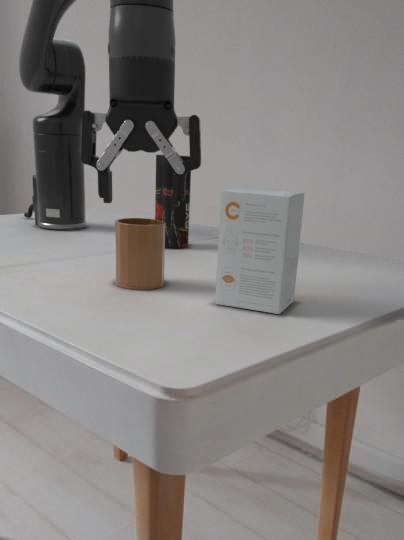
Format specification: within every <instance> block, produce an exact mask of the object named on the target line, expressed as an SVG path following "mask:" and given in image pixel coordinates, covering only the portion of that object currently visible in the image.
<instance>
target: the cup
mask: <svg viewBox="0 0 404 540" xmlns="http://www.w3.org/2000/svg"><path fill="white" fill-rule="evenodd" d="M114 241H115V242H114V248H115V250H114V251H115V252H114V253H115V257H114V259H115V260H114V261H115V262H114V263H115V285H116V286H118V287H120V288H124V289H128V290H136V291H137V290H139V291H140V290H143V291H144V290H155V289H159V288H162V287H163V286H164V284H165V283H164V282H165V259H166V257H165V256H166V255H165V254H166V253H165V251H166V248H165V222H164V221H161V220H157V219H155V218H146V217H124V218H123V217H122V218H118V219H115V220H114Z"/></svg>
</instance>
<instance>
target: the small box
mask: <svg viewBox="0 0 404 540" xmlns="http://www.w3.org/2000/svg"><path fill="white" fill-rule="evenodd" d="M219 199H220V201H219V202H220V203H219V222H218V242H217V259H216V276H215V277H216V278H215V297H214V301H215V302H214V303H215V305H220V306H227V307H234V308H239V309H246V310H251V311H258V312H264V313H270V314H275V315H280V314H281V313H282V312H283V311H285V310H286V309H287V308H288V307H290V305H291V304H293V302H295V293H296V285H297V282H296V281H297V274H298V266H299V254H300V243H301V235H302V224H303V223H302V222H303V213H304V203H305V202H304V201H305V192H304V191H292V190H291V191H288V190H276V189H263V188H252V187H235V188H233V187H232V188H228V189H222V190H220V198H219Z"/></svg>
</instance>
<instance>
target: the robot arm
mask: <svg viewBox="0 0 404 540" xmlns="http://www.w3.org/2000/svg"><path fill="white" fill-rule="evenodd" d="M109 1H110V2H109V6H110V9H109V10H110V11H109V25H108V42H107V55H108V77H109V78H108V80H109V81H108V82H109V83H108V85H109V86H108V89H109V91H108V92H109V93H108V94H109V106H108V109H107V112H106V113H102V112H95V111H93V110H88V109H87V110H86V79H87V78H86V74H87V73H86V72H87V71H86V61H85V54H84V51H83V50H82V48H81V45H79V43H77V42H76V41H74V40H70V39H64V38H56V37H55V35H56V32H57V29H58V26H59V24H60V23H61V20H62V19H63V17H64V16H65V14H66V13H67V12H68V10H69V9H70V8H71V7H72V6H73V4H75V3H76V2H77V0H32V2H31V5H30V10H29V13H28V17H27V21H26V25H25V29H24V32H23V37H22V41H21V45H20V50H19V51H20V52H19V59H18V72H19V73H18V74H19V78H20V81H21V84H22V86H23V88H25V89H26V90H27V91H28V92H30V93H31V92H32V93H36V94H41V95H42V94H43V95H51V96H52V95H54V96H58V99H57V103H56V105H55V106H54V108H52V109H50V110H49V111H46V112H44V113H42V114H38V115H36V116H34V117H33V119H32V133H33V134H32V135H33V136H32V137H33V150H34V152H33V153H34V167H35V168H34V169H35V174H33V175H32V192H33V193H32V194H33V195H31V196H32V203H31V204H30V205H29V206H28V209H27V212H24V213H23V216H24V217H25V218H27V219H30V218H32V216H33V214H34V225H35V226H38V227H39V228H42V229H47V230H58V231H59V230H62V231H63V230H81V229H84V228H86V227H87V220H86V218H87V217H86V185H85V183H86V181H85V165H87V166H90V167H92V168H94V169H95V171H96V172H97V192H98V193H97V194H98V197H99V198H100V199H102V200H103V204H111V203H112V202H113V171H112V170H111V166H112V165H113V163H114V162H115V161H116V159H117V158H118V157H119V156H120V154H121V153H122V152H123V150H125V151H127V152H128V153H129V152H130V153H136V152H140V151H142V152H145V153H150V154H151V153H153V154H154V153H157V152H159V151H160V152H161V153H162V155H164V156H165V158H166V159H167V160H168V161H169V163H170V164H171V166H172V167H173V169H174V170H175V174H174V175H173V206H179V205H180V202H183V201H184V198H185V188H186V174H187V173H188V172H189V171H191V172H192V171H195V170H198V169H199V168H200V167H201V166H202V140H201V137H202V136H201V118H200V117H199V116H198V115H196V114H192V115H190V116H178V115H177V114H176V111H175V85H176V84H175V83H176V26H175V13H174V12H175V0H109ZM104 124H106V125H107V127H108V129H109V130H110V132H111V133H112V135H113V137H112V139H111V140H110V141H109V143H108V145H107V146H106V147H105V150H104V152H103V153H102V154H101V156H98V155H97V132H100V131H101V130H102V129H103V125H104ZM178 126H179V127H180V128H181V129H182V133H183V134H184V135H185V136H188V137H189V139H188V142H189V143H188V144H189V145H188V146H189V156H190V160H188V161H185V162H183V161H182V159H181V158H180V156H179V155H180V154H179V153H178V151H177V150H176V147H174V145H173V143H172V142H171V140H170V138H171V137H172V135H173V134H174V132H175V131H176V130H177V128H178Z"/></svg>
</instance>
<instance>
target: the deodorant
mask: <svg viewBox="0 0 404 540" xmlns="http://www.w3.org/2000/svg"><path fill="white" fill-rule="evenodd" d="M178 155H179V156H180V158H181V159H182V161H183V162H185V161H188V160H190V155H180V154H178ZM174 174H175V170H174V169H173V167H172V166H171V164H170V163H169V161H168V160H167V159H166V158H165V156H164V155H163V154H156V155H155V197H154V200H155V201H154V203H155V204H154V206H155V207H154V219H157V220H161V221H164V222H165V249H170V250H174V249H175V250H177V249H178V250H179V249H186V248H188V247H189V235H190V208H191V181H192V180H191V179H192V171H189V172H188V173H187V174H186V188H185V198H184V201H183V202H180V205H179V206H173V175H174Z"/></svg>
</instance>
